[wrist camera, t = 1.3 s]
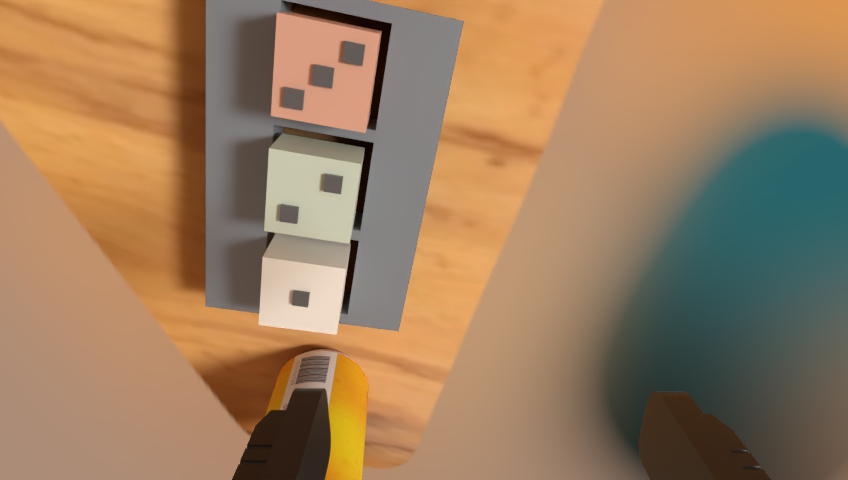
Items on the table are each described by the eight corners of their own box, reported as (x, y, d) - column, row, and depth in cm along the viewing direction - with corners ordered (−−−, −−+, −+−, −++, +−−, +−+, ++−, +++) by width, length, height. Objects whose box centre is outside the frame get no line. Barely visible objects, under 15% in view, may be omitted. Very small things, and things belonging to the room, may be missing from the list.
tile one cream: (271, 295, 27) (257, 327, 24) (275, 232, 25) (261, 259, 23) (342, 304, 28) (336, 337, 25) (350, 243, 26) (345, 271, 23)
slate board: (220, 283, 29) (205, 306, 27) (225, -31, 22) (206, -35, 20) (398, 307, 30) (398, 331, 28) (457, 20, 23) (463, 21, 21)
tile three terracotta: (284, 103, 23) (269, 116, 20) (291, 12, 21) (275, 12, 18) (369, 119, 23) (365, 134, 20) (381, 31, 21) (379, 34, 19)
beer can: (294, 417, 34) (227, 684, 21) (267, 351, 31) (170, 607, 18) (377, 403, 34) (365, 662, 20) (357, 335, 31) (327, 582, 18)
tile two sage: (277, 208, 25) (263, 232, 22) (282, 133, 23) (267, 149, 20) (354, 220, 25) (349, 245, 23) (364, 147, 24) (360, 165, 21)
